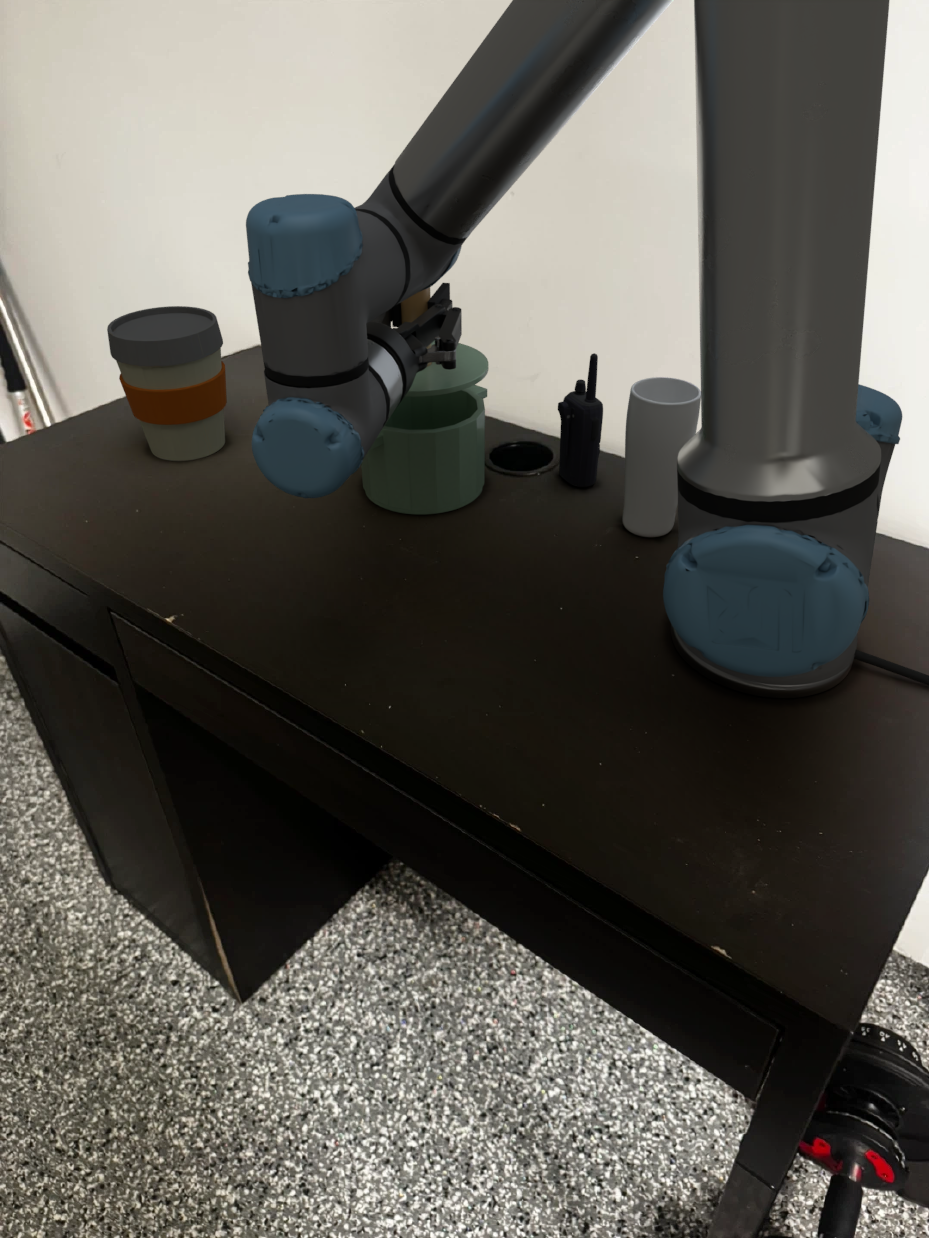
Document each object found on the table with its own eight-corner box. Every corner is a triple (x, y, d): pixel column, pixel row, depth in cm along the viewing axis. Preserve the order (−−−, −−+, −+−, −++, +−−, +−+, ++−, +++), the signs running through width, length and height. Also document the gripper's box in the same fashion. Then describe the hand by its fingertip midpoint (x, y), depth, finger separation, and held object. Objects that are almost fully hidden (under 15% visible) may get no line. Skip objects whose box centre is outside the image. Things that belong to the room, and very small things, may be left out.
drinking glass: (686, 543, 90) (709, 404, 81) (619, 544, 90) (635, 404, 81) (673, 510, 96) (694, 376, 87) (610, 510, 96) (624, 376, 87)
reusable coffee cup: (154, 422, 115) (127, 305, 106) (250, 423, 114) (231, 305, 105) (120, 467, 105) (86, 341, 96) (225, 468, 104) (201, 342, 95)
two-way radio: (602, 487, 100) (614, 356, 91) (567, 495, 98) (576, 363, 89) (577, 466, 104) (586, 340, 95) (543, 474, 102) (550, 346, 93)
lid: (517, 372, 93) (520, 282, 87) (418, 415, 84) (415, 318, 79) (417, 339, 101) (414, 255, 95) (318, 376, 92) (308, 285, 87)
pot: (523, 474, 102) (526, 396, 97) (406, 538, 91) (401, 454, 86) (438, 440, 110) (436, 365, 104) (320, 495, 99) (311, 415, 93)
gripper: (277, 412, 78) (358, 325, 97) (455, 428, 75) (503, 335, 94) (265, 328, 74) (353, 253, 92) (454, 341, 71) (505, 262, 89)
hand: (429, 295), depth 93 cm, fingers closed on lid, 3 cm apart
